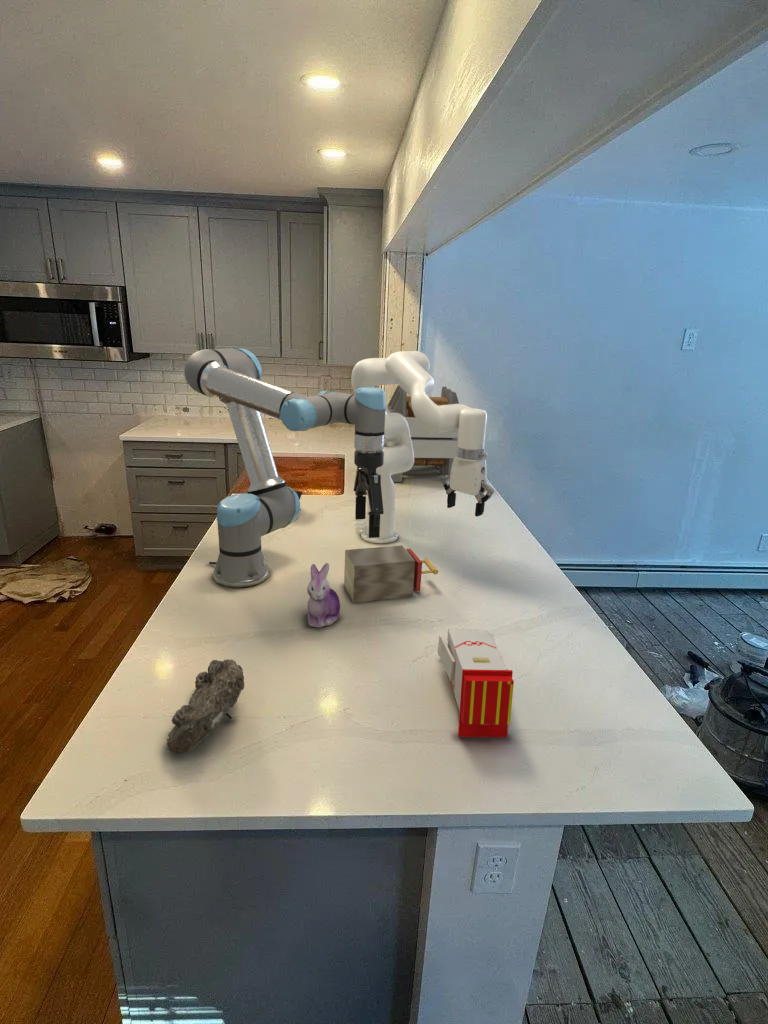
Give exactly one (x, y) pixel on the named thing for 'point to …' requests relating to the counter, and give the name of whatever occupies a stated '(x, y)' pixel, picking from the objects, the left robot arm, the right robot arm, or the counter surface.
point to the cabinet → (378, 573)
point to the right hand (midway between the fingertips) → (464, 511)
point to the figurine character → (299, 494)
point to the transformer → (426, 433)
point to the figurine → (321, 599)
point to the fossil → (206, 705)
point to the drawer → (420, 569)
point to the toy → (478, 682)
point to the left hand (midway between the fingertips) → (366, 527)
